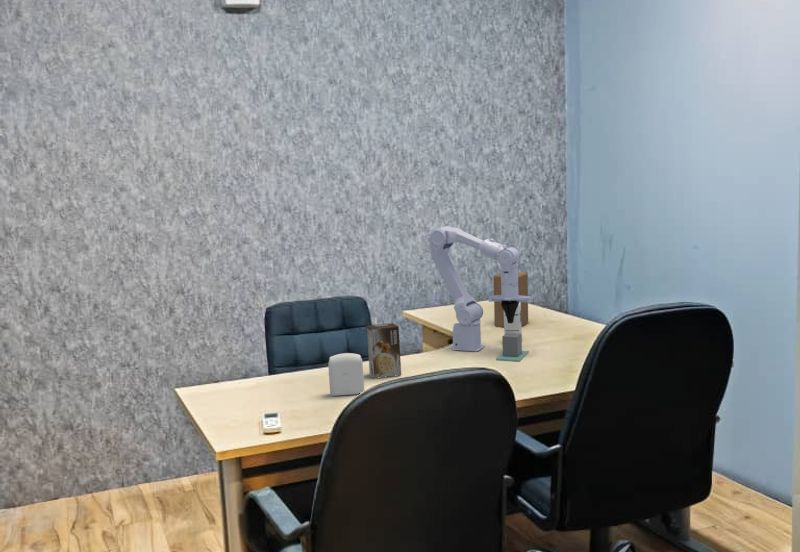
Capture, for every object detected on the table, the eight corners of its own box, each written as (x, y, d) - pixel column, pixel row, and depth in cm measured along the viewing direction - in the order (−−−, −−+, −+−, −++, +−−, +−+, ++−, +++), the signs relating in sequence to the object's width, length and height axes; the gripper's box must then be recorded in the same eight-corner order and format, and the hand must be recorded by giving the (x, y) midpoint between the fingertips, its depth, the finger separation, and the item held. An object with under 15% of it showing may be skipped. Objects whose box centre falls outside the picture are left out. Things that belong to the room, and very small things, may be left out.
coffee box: (396, 371, 304) (394, 322, 301) (401, 376, 298) (399, 326, 295) (368, 374, 302) (366, 325, 299) (373, 379, 296) (371, 329, 293)
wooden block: (518, 329, 357) (517, 277, 353) (494, 326, 362) (493, 275, 358) (528, 323, 365) (528, 272, 362) (505, 321, 370) (504, 271, 367)
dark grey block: (502, 356, 315) (502, 336, 314) (506, 352, 320) (506, 333, 318) (517, 357, 313) (517, 337, 312) (521, 353, 318) (521, 333, 316)
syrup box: (520, 344, 332) (520, 304, 330) (504, 344, 334) (503, 304, 331) (522, 340, 338) (521, 301, 335) (505, 340, 339) (504, 301, 337)
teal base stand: (496, 360, 313) (495, 342, 312) (505, 351, 323) (505, 334, 322) (519, 361, 310) (519, 343, 309) (528, 352, 320) (528, 335, 319)
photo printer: (330, 397, 278) (327, 356, 276) (329, 393, 282) (327, 352, 280) (364, 394, 279) (362, 354, 277) (363, 390, 283) (362, 350, 281)
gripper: (485, 284, 317) (486, 324, 319) (527, 286, 311) (528, 326, 314) (491, 281, 323) (492, 320, 326) (532, 282, 318) (533, 321, 320)
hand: (510, 322), depth 320 cm, fingers closed
